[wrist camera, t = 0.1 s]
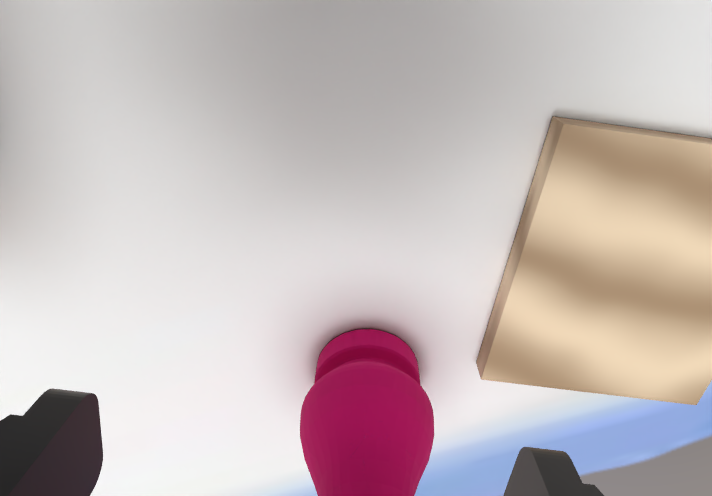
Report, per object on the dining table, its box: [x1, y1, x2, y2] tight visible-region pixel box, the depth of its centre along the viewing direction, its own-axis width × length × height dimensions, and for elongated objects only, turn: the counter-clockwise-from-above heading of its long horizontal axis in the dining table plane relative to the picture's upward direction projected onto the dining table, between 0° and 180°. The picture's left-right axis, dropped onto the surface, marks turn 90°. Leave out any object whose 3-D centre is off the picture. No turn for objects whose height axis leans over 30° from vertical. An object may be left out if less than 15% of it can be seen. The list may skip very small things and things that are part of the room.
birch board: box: [476, 116, 712, 405], centre depth 26 cm, size 15×13×2 cm
